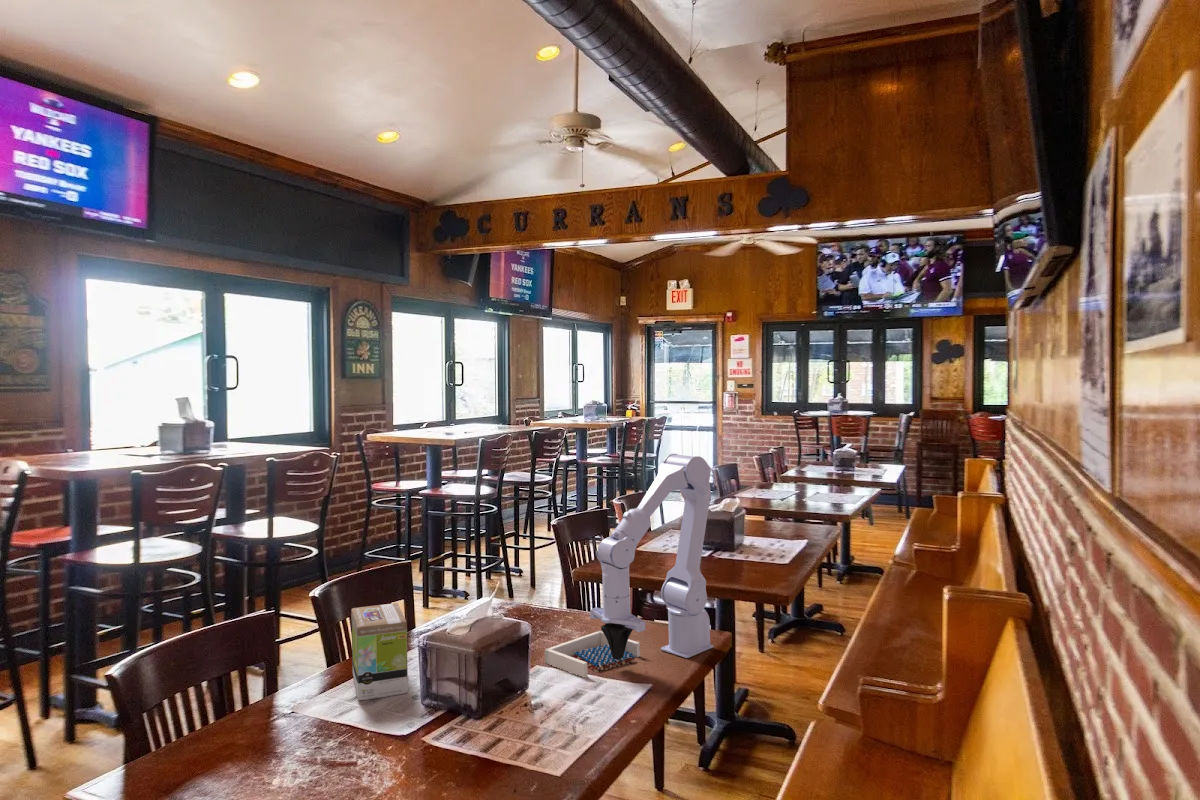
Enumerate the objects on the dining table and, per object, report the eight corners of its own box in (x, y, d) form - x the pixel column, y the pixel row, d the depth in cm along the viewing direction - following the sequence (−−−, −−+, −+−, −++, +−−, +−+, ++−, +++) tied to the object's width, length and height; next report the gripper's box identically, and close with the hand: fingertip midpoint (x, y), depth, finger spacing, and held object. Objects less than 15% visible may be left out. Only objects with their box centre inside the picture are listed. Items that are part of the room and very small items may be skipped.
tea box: (410, 693, 155) (407, 620, 155) (357, 702, 152) (354, 627, 151) (400, 668, 169) (397, 600, 169) (351, 675, 166) (349, 606, 165)
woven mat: (571, 660, 173) (570, 651, 173) (611, 650, 178) (611, 641, 178) (595, 675, 164) (595, 665, 164) (637, 664, 169) (636, 655, 169)
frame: (600, 643, 182) (600, 630, 182) (640, 656, 173) (639, 642, 173) (545, 663, 170) (544, 649, 170) (584, 678, 161) (583, 663, 161)
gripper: (579, 592, 168) (581, 654, 168) (628, 605, 157) (629, 671, 158) (602, 585, 173) (604, 646, 173) (651, 597, 162) (653, 662, 163)
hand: (618, 657), depth 166 cm, fingers closed
